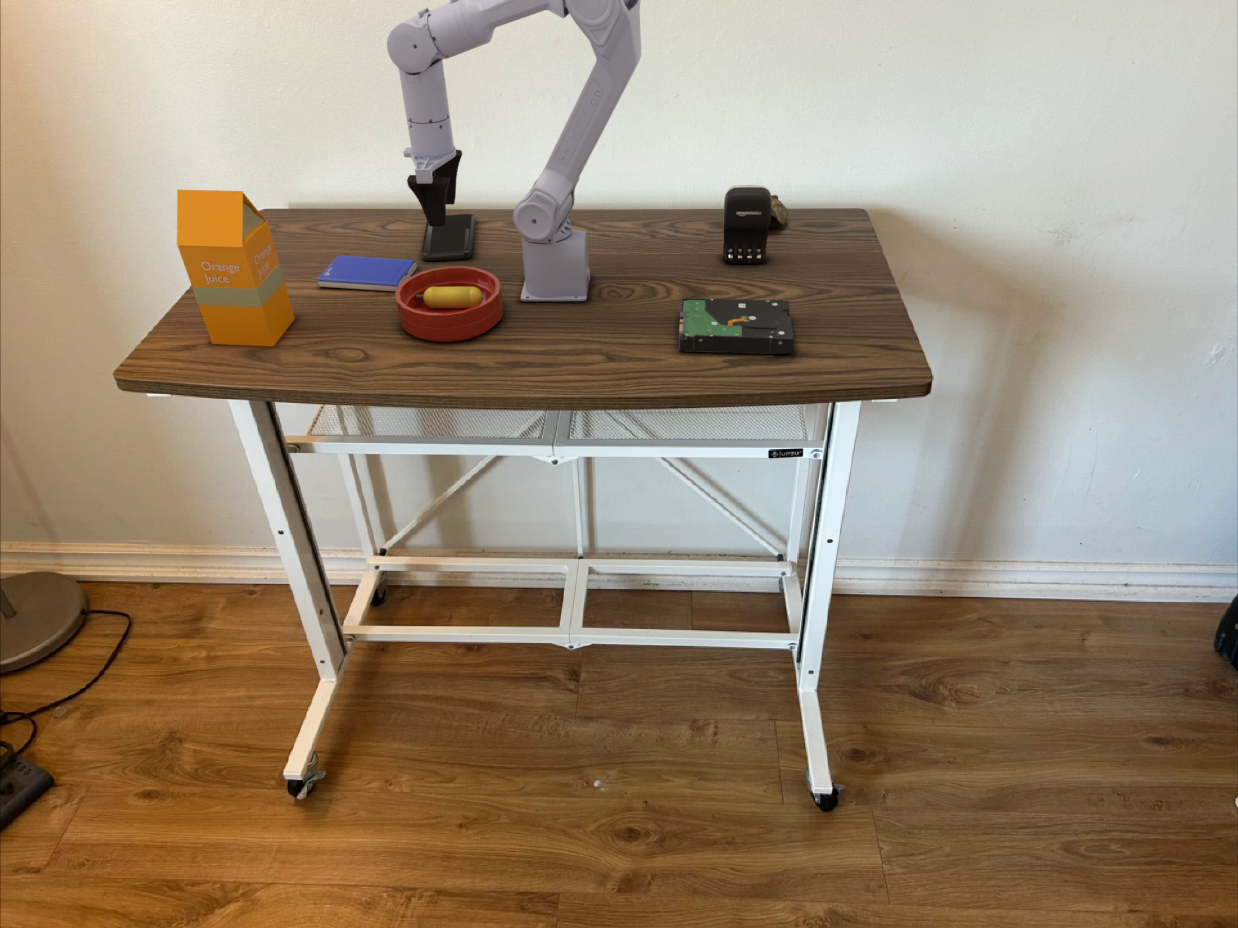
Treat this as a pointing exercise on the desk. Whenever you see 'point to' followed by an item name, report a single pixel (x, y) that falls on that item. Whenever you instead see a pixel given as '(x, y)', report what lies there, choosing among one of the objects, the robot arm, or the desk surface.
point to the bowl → (449, 320)
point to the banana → (451, 297)
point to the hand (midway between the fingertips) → (442, 214)
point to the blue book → (367, 273)
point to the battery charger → (746, 224)
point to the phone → (449, 239)
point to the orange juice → (232, 267)
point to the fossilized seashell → (778, 212)
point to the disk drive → (735, 326)
